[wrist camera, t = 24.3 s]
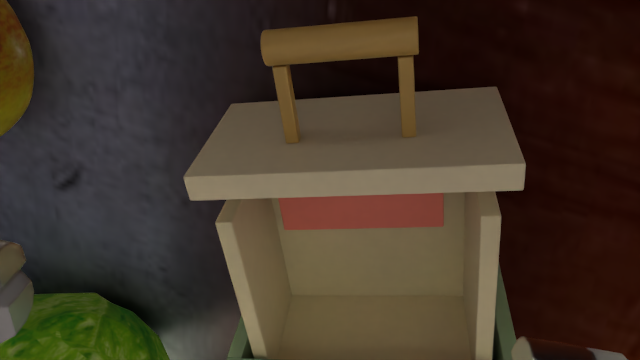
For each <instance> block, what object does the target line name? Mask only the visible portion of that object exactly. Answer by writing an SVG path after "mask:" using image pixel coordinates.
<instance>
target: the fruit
mask: <svg viewBox="0 0 640 360" xmlns="http://www.w3.org/2000/svg"><path fill="white" fill-rule="evenodd" d="M33 83H34V64H33V56H32V51H31V47H30V43H29V40H28V38H27V36H26V34H25V32H24V30H23V28H22V26H21V24H20V22H19V20H18V18H17V16H16V14H15V12H14V11H13V9H12V8H11V6H10V5H9V3H8V2H7V1H6V0H0V137H1V136H2V135H3V134H5V133H6V132H7V131H8V130H10V129H11V128H12V127H13V126H14V125H15V124H16V122H17V121H18V120H19V119H20V118H21V116H22V115H23V114H24V112H25V111H26V109H27V107H28V105H29V102H30V99H31V96H32V91H33Z"/></svg>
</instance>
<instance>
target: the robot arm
mask: <svg viewBox="0 0 640 360" xmlns="http://www.w3.org/2000/svg"><path fill="white" fill-rule="evenodd" d="M25 262H26V258H25V255H24V252H23V249H22V246H21V245H19V244H16V243H13V242H9V241H5V240H0V343H2V342H4V341H6V340H8V339H10V338H12V337H14V336H16V334H17V333H18V332H19V330H20V329H21V328H22V327H23V325H24V324H25V323H26V321H27V319H28V316H29V314H30V311H31V309H32V306H33V299H34V289H33V285H32V281H31V280H30V279H29V277H28V276H27V275H26V274H25V273H24V272H23V271H22V270H21V269H20V268H21V267H22V266H23V264H24V263H25ZM511 355H512V360H628V359H627V358H626V357H625V356H624V355H623V354H621V353H616V352H610V351H604V350H599V349H593V348H585V347H582V346H577V345H571V344H565V343H560V342H554V341H548V340H542V339H537V338H531V337H525V336H521V337H520V338H519V339H518V340H516V342H515V344H514V346H513V348H512V350H511Z"/></svg>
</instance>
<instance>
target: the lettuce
mask: <svg viewBox="0 0 640 360" xmlns="http://www.w3.org/2000/svg"><path fill="white" fill-rule="evenodd" d="M0 360H170V359H169V357H168V355H167V352H166V350H165V348H164V346H163V344H162V342H161V340H160V338H159V336H158V335H157V334H156V333H155V332H154V331H153V330H152V329H151V328H150V327H149V326H148V325H146V324H145V323H144V322H143V321H142V320H141V319H140V318H139V317H138V316H137V315H136V314H135V313H134V312H132V311H130V310H127V309H125V308H123V307H120V306H118V305H115V304H113V303H111V302H109V301H108V300H106V299H105V298H103V297H101V296H100V295H98V294H97V293H54V294H34V299H33V306H32V309H31V311H30V314H29V316H28V319H27V321H26V323H25V324H24V325H23V327H22V328H21V329H20V330H19V332H18V333H17V334H16V336H14V337H12V338H10V339H8V340H6V341H4V342H2V343H0Z"/></svg>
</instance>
